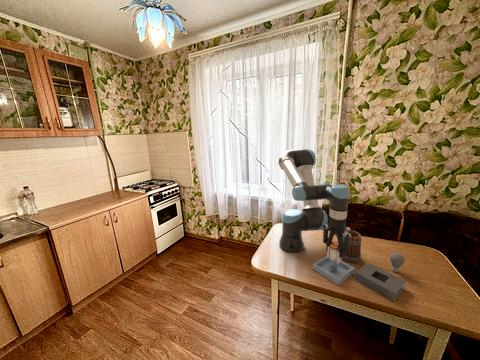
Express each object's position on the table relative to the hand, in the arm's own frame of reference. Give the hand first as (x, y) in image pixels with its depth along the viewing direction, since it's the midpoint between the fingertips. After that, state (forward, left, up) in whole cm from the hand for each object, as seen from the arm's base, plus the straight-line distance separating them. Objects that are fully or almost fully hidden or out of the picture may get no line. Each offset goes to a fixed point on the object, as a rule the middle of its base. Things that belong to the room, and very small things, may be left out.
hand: (333, 259), depth 100 cm
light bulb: (+18, +25, -7) cm, 32 cm away
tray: (0, 0, -7) cm, 7 cm away
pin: (0, 0, -5) cm, 5 cm away
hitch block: (+17, +9, -7) cm, 21 cm away
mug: (-3, +20, -7) cm, 21 cm away
